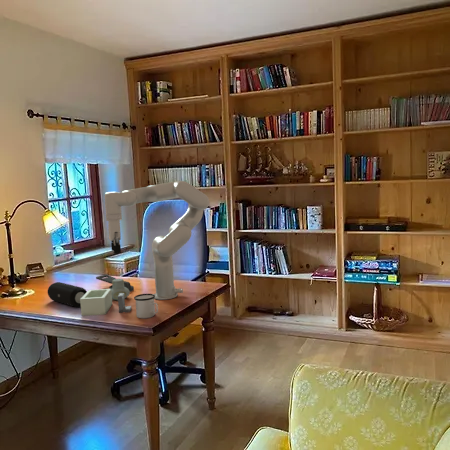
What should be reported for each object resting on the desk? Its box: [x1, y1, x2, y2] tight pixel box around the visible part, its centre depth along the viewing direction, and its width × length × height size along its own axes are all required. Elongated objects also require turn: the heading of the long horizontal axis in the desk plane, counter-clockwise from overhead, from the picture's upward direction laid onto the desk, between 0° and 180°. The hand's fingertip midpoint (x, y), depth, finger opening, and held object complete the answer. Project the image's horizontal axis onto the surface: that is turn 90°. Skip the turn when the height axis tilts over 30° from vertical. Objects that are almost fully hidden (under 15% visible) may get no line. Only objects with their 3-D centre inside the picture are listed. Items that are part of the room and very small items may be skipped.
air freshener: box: [111, 278, 131, 301], centre depth 245 cm, size 11×8×10 cm
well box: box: [80, 288, 113, 317], centre depth 227 cm, size 11×16×8 cm
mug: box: [133, 293, 159, 319], centre depth 214 cm, size 12×10×9 cm
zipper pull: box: [95, 274, 135, 293], centre depth 266 cm, size 9×7×25 cm
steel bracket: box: [117, 293, 132, 314], centre depth 224 cm, size 5×5×8 cm
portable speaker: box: [47, 281, 88, 308], centre depth 241 cm, size 26×10×10 cm, turn 49°
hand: (116, 251), depth 234 cm, fingers open, 9 cm apart
